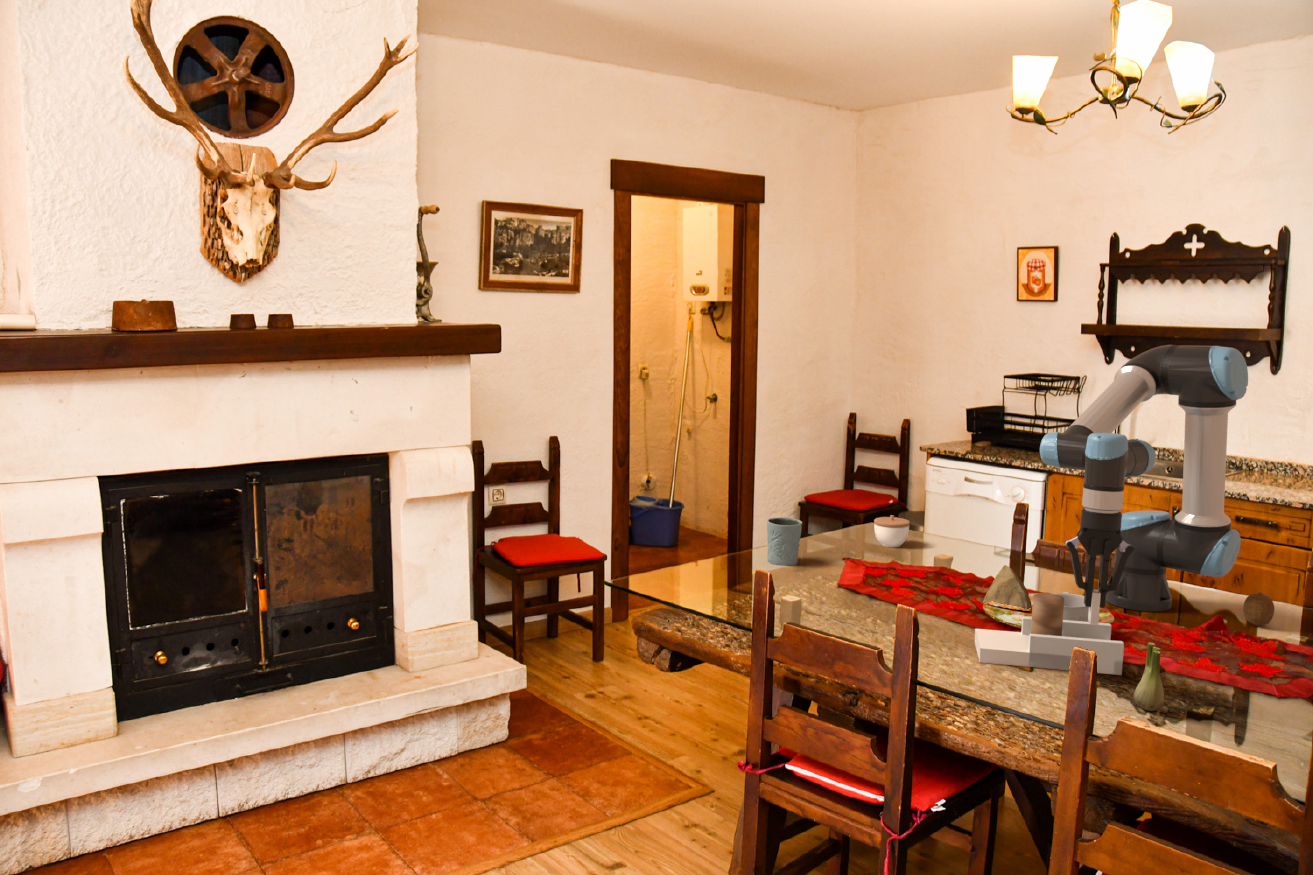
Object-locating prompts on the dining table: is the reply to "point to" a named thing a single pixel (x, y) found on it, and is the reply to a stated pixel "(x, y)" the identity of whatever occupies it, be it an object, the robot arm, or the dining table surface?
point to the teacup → (1074, 607)
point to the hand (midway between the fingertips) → (1093, 622)
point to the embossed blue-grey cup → (783, 540)
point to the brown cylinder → (1047, 614)
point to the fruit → (1258, 609)
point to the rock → (1008, 590)
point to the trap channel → (1050, 646)
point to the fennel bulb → (1150, 682)
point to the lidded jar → (891, 530)
